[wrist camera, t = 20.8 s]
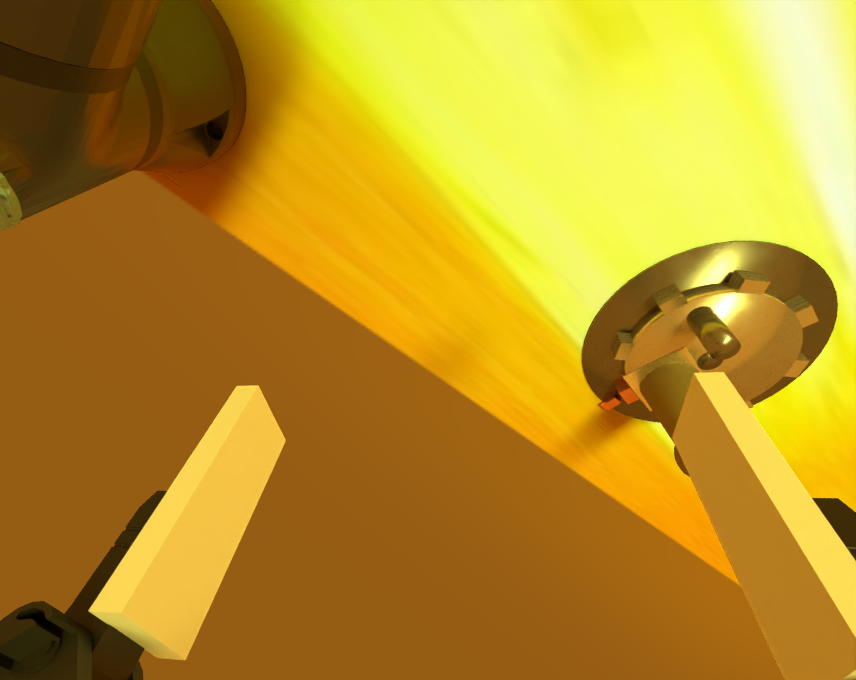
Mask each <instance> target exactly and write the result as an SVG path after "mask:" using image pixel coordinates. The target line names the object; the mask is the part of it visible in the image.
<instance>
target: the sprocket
mask: <svg viewBox="0 0 856 680" xmlns="http://www.w3.org/2000/svg"><path fill="white" fill-rule="evenodd" d="M769 284H770V281H769V280H768V279H767V278H765V277H764V276H763V275H762V274H761V273H760V272H754V271H743V270H735V271H734V272H733V274H732V276H731V278H730V279H729V281H728V283H715V284H709V285H704V286H699V287H696V288H693V289H689V290H687V291H684V292H681V291H680V290H679V288H678V287H677V286H676V284H673V285H671V286H669V287H667V288H665V289H664V290H662V291H660V292H658V293H656V294H654V295H653V298H654V299H655V301H656V303H657V304H658V305H657V306H656V307H654V308H653V309H652V310H650V311H649V312H648V313H647V314H646V315H644V316H643V317H642V318H641V319H640V320H639V321H638V323H637V324H636V325H635V326H634V327H633V329H632V330H631V332H630V333H622V332H616V335H615V337H614V340H613V342H612V344H611V347H610V349H611V352H612V354H613V357H614V359H616V360H622V368H623V372H624V374H625V375H622V377H623V378H621V379H619V380H616V381H614V382H615V385H616V388H617V390H618V393H619V394H620V395H621V397H622V398H623V399H624V400H625V401H626V403H627V404H630V403H632V402H634V401H637V400H639V399H640V400H641V401H642V402H643V403H644V404H645V405H646V407H647V408H648V409H649V410H650V411H652V409H651V408H650V406H649V405H648V403H647V402H646V400H645V399H644V397H643V395H642V394H641V391H640V385H641V383H642V380H643V379H644V378H645V377H646V375H647V374H648V373H650V372H651V371H653V370H654V369H656V368H658V367H661V366H663V365H667V364H672V363H685V364H688V365H691V366H693V367H695V368H696V369H697V370H699V372H700V373H709V372H724V373H725V375H726V376H727V377H728V379H729V380H730V382H731V383H732V385H733V386H734V387H735V389H736V390H737V392H738V393H739V395H740V396H741V397H742V399H743V400H744V402H745V403H746V405H747V406H748V408H749V409H750V408H752V407H753V405H752V404H751V402H750V400H751V399H753V398H755V397H756V396H758V395H760V394H762V393H763V392H765V391H766V390H768V389H769V388H771V387H772V386H773V385H774V384H776V383H777V382H778V381H779V380H780V379H781V378H782V377H783V376H786V377H796V378H797V377H798V376H799V374H800V373H801V372H802V371H803V369H804V368H805V367H806V366H807V364H808V363H809V362H810V361H809V360H808V359H807V358H806V357H805V356H804V355H803V354H802V353H801V352H800V350H801V346H802V342H803V331H802V328H804V327H806V326H809V325H811V324H813V323H816V322H818V321H819V320H818V318H817V316H816V314H815V312H814V309H813V307H812V305H811V304H809V303H808V302H807V301H806V300H805V299H804V298H802V297H801V296H800V295H798V296H795V297H793V298H791V299H789V300H787V301H785V302H782V301H781V300H780V299H779V298H778V297H777V296H776V295H774V294H773V293H771V292H769V291H768V290H766V289H767V287H768V285H769Z"/></svg>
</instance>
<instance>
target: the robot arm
mask: <svg viewBox="0 0 856 680" xmlns="http://www.w3.org/2000/svg"><path fill="white" fill-rule="evenodd" d="M245 110H246V85H245V77H244V72H243V67H242V63H241V60H240V56H239V53H238V50H237V48H236V45H235V43H234V40H233V38H232V36H231V33H230V31H229V29H228V27H227V25H226V24H225V22H224V20H223V18H222V17H221V15H220V13H219V12H218V10H217V9H216V7H215V6H214V4H213V3H212V2H211V0H0V230H5V229H9V228H11V227H15V226H16V225H18V224H19V222H20V220H23V219H25V218H27V217H30V216H32V215H34V214H36V213H38V212H41V211H43V210H45V209H47V208H50V207H52V206H54V205H56V204H58V203H61V202H63V201H65V200H67V199H69V198H72V197H74V196H76V195H79V194H81V193H83V192H85V191H88V190H90V189H92V188H94V187H96V186H99V185H100V184H103V183H105V182H108V181H110V180H112V179H114V178H116V177H119V176H121V175H123V174H125V173H127V172H129V171H132V170H139V171H156V172H184V171H190V170H194V169H197V168H200V167H202V166H204V165H206V164H208V163H210V162H212V161H214V160H216V159H217V158H219V157H220V156H222V155H223V154H224V153H225V152H226V151H227V150H229V148H230V147H231V146H232V145H233V143H234V142H235V140H236V139H237V137H238V135H239V133H240V130H241V127H242V125H243V121H244V116H245ZM672 439H673V441H674V443H675V445H676V447H677V450H678V452H679V454H680V456H681V458H682V460H683V463H684V465H685V467H686V469H687V471H688V473H689V475H690V478H691V480H692V482H693V484H694V486H695V488H696V491H697V493H698V495H699V497H700V499H701V501H702V503H703V506H704V508H705V510H706V512H707V514H708V516H709V519H710V521H711V523H712V525H713V527H714V529H715V531H716V534H717V536H718V538H719V540H720V542H721V544H722V547H723V549H724V551H725V553H726V555H727V557H728V559H729V562H730V564H731V566H732V568H733V570H734V572H735V575H736V577H737V579H738V581H739V583H740V585H741V587H742V590H743V592H744V594H745V596H746V598H747V600H748V602H749V605H750V607H751V609H752V611H753V613H754V615H755V618H756V620H757V622H758V624H759V626H760V628H761V630H762V633H763V635H764V636H765V639H766V641H767V643H768V646H769V648H770V650H771V652H772V654H773V656H774V658H775V661H776V663H777V665H778V667H779V669H780V671H781V673H782V676H783V678H784V680H856V512H854V511H853V510H852V509H851V508H849V507H848V506H847V505H846V504H844V503H843V502H842V501H841V500H839V499H838V498H811V496H810V495H809V493H808V492H807V491H806V489H805V488H804V486H803V485H802V483H801V482H800V481H799V479H798V478H797V476H796V475H795V473H794V472H793V470H792V469H791V468H790V466H789V465H788V463H787V462H786V460H785V459H784V458H783V456H782V455H781V453H780V452H779V450H778V449H777V448H776V446H775V445H774V443H773V442H772V440H771V439H770V438H769V436H768V435H767V433H766V432H765V430H764V429H763V428H762V426H761V425H760V423H759V422H758V420H757V419H756V418H755V416H754V415H753V413H752V412H751V410H750V409H749V408H748V406H747V405H746V403H745V402H744V400H743V399H742V397H741V396H740V395H739V393H738V392H737V390H736V389H735V387H734V386H733V385H732V383H731V382H730V380H729V379H728V377H727V376H726V375H725V373H724V372H709V373H694V374H693V377H692V380H691V383H690V386H689V389H688V392H687V395H686V398H685V401H684V404H683V407H682V410H681V413H680V416H679V419H678V422H677V424H676V427H675V430H674V433H673V436H672ZM285 441H286V440H285V438H284V436H283V434H282V432H281V430H280V428H279V426H278V424H277V422H276V420H275V418H274V416H273V414H272V412H271V410H270V408H269V406H268V404H267V402H266V400H265V398H264V396H263V394H262V392H261V390H260V388H259V386H237V387H236V388H235V390H234V391H233V393H232V394H231V396H230V397H229V399H228V400H227V402H226V403H225V405H224V406H223V408H222V409H221V411H220V412H219V414H218V415H217V417H216V418H215V420H214V421H213V423H212V424H211V426H210V427H209V429H208V431H207V432H206V434H205V435H204V436H203V438H202V439H201V441H200V443H199V444H198V446H197V447H196V449H195V450H194V452H193V453H192V455H191V456H190V458H189V459H188V461H187V462H186V464H185V465H184V467H183V468H182V470H181V471H180V473H179V474H178V476H177V477H176V479H175V481H174V482H173V483H172V485H171V486H170V488H169V489H168V491H157V492H156V493H155V494H154V495H152V496H151V497H150V498H149V499H148V500H147V501H146V502H145V503H144V504H143V505H142V506H141V507H139V509H138V510H137V512H136V513H135V514H134V516H133V518H132V519H131V520H130V522H129V523H128V525H127V526H126V530H125V531H123V532H122V533H121V535H120V536H119V537H118V539H117V540H116V542H115V546H114V547H112V548H111V549H110V551H109V552H108V553H107V555H106V556H105V558H104V559H103V560H102V562H101V563H100V565H99V566H98V568H97V569H96V571H95V572H94V573H93V575H92V576H91V578H90V579H89V581H88V582H87V584H86V585H85V586H84V588H83V589H82V591H81V592H80V594H79V595H78V597H77V598H76V599H75V601H74V602H73V604H72V605H71V606H70V608H69V609H68V610H67V611H66V613H65V614H63V613H62V612H60V611H59V610H57V609H55V608H54V607H52V606H51V605H49V604H47V603H46V602H44V601H40V602H31V603H29V604H27V605H24V606H22V607H20V608H18V609H16V610H15V611H13V612H12V613H10V614H9V615H8V616H6V617H5V618H3V619H2V620H1V621H0V680H143V671H142V668H141V665H140V662H139V661H138V660H139V658H140V656H141V654H142V652H143V651H144V649H145V650H146V651H148V652H149V653H151V654H152V655H154V656H155V657H157V658H166V659H177V660H186V658H187V655H188V653H189V651H190V649H191V647H192V645H193V642H194V640H195V638H196V636H197V634H198V632H199V629H200V627H201V625H202V623H203V620H204V618H205V616H206V614H207V612H208V610H209V607H210V605H211V603H212V601H213V599H214V597H215V594H216V592H217V590H218V588H219V585H220V583H221V581H222V579H223V577H224V575H225V572H226V570H227V568H228V566H229V564H230V561H231V559H232V557H233V555H234V553H235V551H236V548H237V546H238V544H239V542H240V540H241V538H242V535H243V533H244V531H245V529H246V527H247V524H248V522H249V520H250V518H251V515H252V513H253V511H254V509H255V507H256V505H257V503H258V500H259V498H260V496H261V494H262V492H263V489H264V487H265V485H266V483H267V481H268V478H269V476H270V474H271V472H272V470H273V468H274V465H275V463H276V461H277V459H278V457H279V455H280V452H281V450H282V448H283V446H284V443H285Z"/></svg>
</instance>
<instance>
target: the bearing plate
mask: <svg viewBox="0 0 856 680" xmlns="http://www.w3.org/2000/svg"><path fill="white" fill-rule="evenodd" d="M735 270H743V271H754V272H760V273H761V274H762V275H763V276H764V277H765V278H767V279H768V280H769V281H770V284H769V285H768V287H767V289H766V290H768V291H769V292H771V293H773V294H774V295H776V296H777V297H778V298H779V299H780V300H781V301H782V302H785V301H787V300H789V299H791V298H793V297H795V296H798V295H800V296H801V297H802V298H804V299H805V300H806V301H807V302H808V303H809V304H811V305H812V307H813V309H814V312H815V314H816V316H817V318H818V320H819V321H818V322H816V323H813V324H811V325H809V326H806V327H804V328H802V331H803V342H802V346H801V350H800V352H801V353H802V354H803V355H804V356H805V357H806V358H807V359H808V360H809V361H810V362H809V363H808V364H807V366H806V367H805V368H804V369H803V371H802V372H801V373H800V374H799V376H800V375H801V374H802V373H803V372H804V371H805V370H806V369H807V368H808V367H809V366H810V365H811V364H812V363H813V362H814V360H815V359H816V358H817V357H818V356H819V354H820V353H821V351H822V350H823V348H824V347H825V345H826V344H827V342H828V340H829V338H830V336H831V333H832V331H833V329H834V325H835V321H836V318H837V307H838V303H837V295H836V291H835V288H834V285H833V283H832V281H831V279H830V278H829V276H828V275H827V273H826V272H825V270H824V269H823V268H822V267H821V266H820V265H819V264H818V263H816V262H815V261H814V260H813V259H811V258H809V257H808V256H806V255H805V254H803V253H802V252H799V251H797V250H794V249H792V248H789V247H787V246H783V245H779V244H775V243H770V242H760V241H730V242H722V243H715V244H710V245H706V246H702V247H697V248H694V249H691V250H688V251H685V252H682V253H679V254H676V255H674V256H672V257H669V258H667V259H665V260H663V261H660V262H658V263H657V264H655V265H653V266H651V267H649V268H648V269H646V270H644V271H642V272H641V273H640V274H638V275H637V276H635V277H634V278H632V279H631V280H630V281H628V282H627V283H626V284H625V285H623V286H622V287H621V288H620V289H619V290H618V291H617V292H615V293H614V295H613V296H612V297H611V298H610V299H609V300H608V301H607V302H606V303H605V304H604V306H603V307H602V308H601V310H600V311H599V312H598V314H597V315H596V317H595V319H594V320H593V322H592V324H591V326H590V328H589V331H588V333H587V336H586V338H585V343H584V348H583V366H584V372H585V375H586V378H587V381H588V383H589V384H590V386H591V388H592V390H593V391H594V392H595V393H596V394H597V396H598V397H599V398H600V399H601V400H602V401H604V402H603V403H601V404H600V405H601V407H602V408H604V409H605V410H607V411H609V410H610V409H612V408H613V409H615V410H617V411H619V412H621V413H623V414H625V415H628V416H631V417H634V418H637V419H642V420H647V421H653V422H660V421H659V420H658V418H657V417H656V415H655V414H654V412H653V411H650V410H649V409H648V408H647V407H646V405H645V404H644V403H643V402H642V401H641V400H640V399H639V400H637V401H634V402H632V403H630V404H627V403H626V401H625V400H624V399H623V398H622V397H621V395H620V394H619V393H618V390H617V388H616V385H615V382H614V381H616V380H619V379H621V378H623V377H622V375H625V374H624V372H623V368H622V360H616V359H614V357H613V354H612V352H611V349H610V347H611V344H612V342H613V340H614V337H615V335H616V332H622V333H630V332H631V330H632V329H633V327H634V326H635V325H636V324H637V323H638V321H639V320H640V319H641V318H642V317H643V316H644V315H646V314H647V313H648V312H649V311H650V310H652V309H653V308H654V307H656V306H657V305H658V304H657V303H656V301H655V299H654V298H653V295H654V294H656V293H658V292H660V291H662V290H664V289H665V288H667V287H669V286H671V285H673V284H676V286H677V287H678V288H679V290H680V291H681V292H684V291H687V290H689V289H693V288H696V287H699V286H704V285H709V284H715V283H728V281H729V279H730V278H731V276H732V274H733V272H734V271H735ZM799 376H798V377H799ZM795 379H796V377H786V376H783V377H782V378H781V379H780V380H779V381H778V382H777V383H776V384H774V385H773V386H772V387H771V388H769V389H768V390H766V391H765V392H763V393H762V394H760V395H758V396H756V397H755V398H753V399H751V400H750V402H751V404H752V405H754V404H756V403H759V402H761V401H763V400H764V399H766V398H768V397H770V396H772V395H774V394H775V393H777V392H778V391H780V390H781V389H783V388H784V387H786V386H787V385H789V384H790V383H791V382H792V381H794V380H795Z"/></svg>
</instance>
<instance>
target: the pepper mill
mask: <svg viewBox="0 0 856 680" xmlns="http://www.w3.org/2000/svg"><path fill="white" fill-rule="evenodd" d="M694 373H700V372H699V370H697V369H696V368H695V367H693V366H691V365H688V364H685V363H672V364H667V365H663V366H661V367H658V368H656V369H654V370H653V371H651V372H650V373H648V374H647V375H646V377H645V378H644V379H643V380H642V383H641V385H640V391H641V394H642V395H643V397H644V399H645V400H646V402H647V403H648V405H649V406H650V408H651V409H652V411H653V412H654V414H655V415H656V417H657V418H658V420H659V421H660V423H661V424H662V426H663V427H664V429H665V430H666V432H667V433H668V435H669V436H670V438H671V439H672V436H673V433H674V430H675V427H676V424H677V422H678V419H679V416H680V413H681V410H682V407H683V404H684V401H685V398H686V395H687V392H688V389H689V386H690V383H691V380H692V377H693V374H694ZM672 441H673V439H672ZM673 442H674V441H673ZM674 444H675V443H674ZM674 455H675V460H676V462H677V464H678V466H679V467H680V469H681V470H682V471H683V473H685V474H686V475H688V476H689V477H690V475H689V473H688V471H687V469H686V467H685V465H684V463H683V460H682V458H681V456H680V454H679V452H678V450H677V447H676V445H675V447H674Z"/></svg>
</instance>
